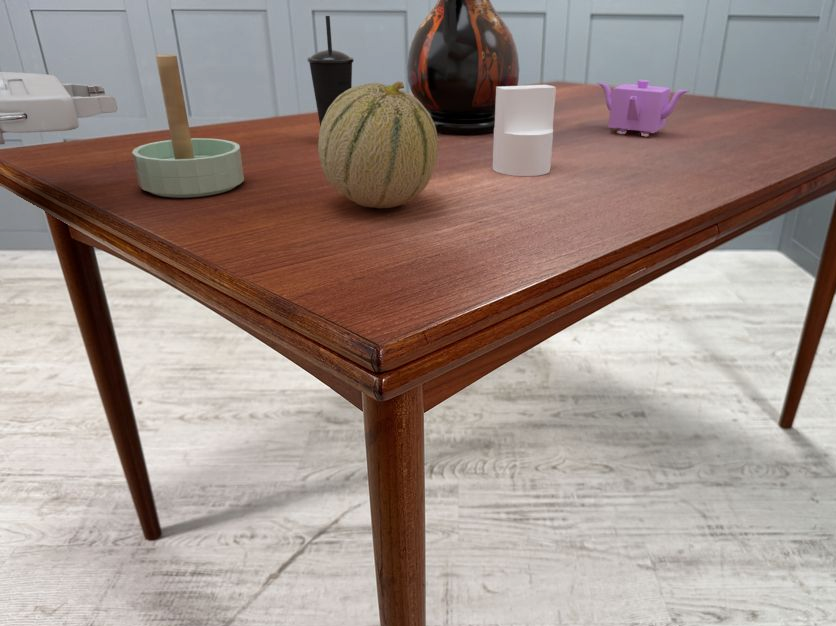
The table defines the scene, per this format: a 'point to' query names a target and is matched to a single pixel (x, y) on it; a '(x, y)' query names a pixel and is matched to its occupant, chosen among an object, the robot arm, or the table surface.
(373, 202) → the cantaloupe
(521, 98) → the base with upright slab
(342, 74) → the drinking cup
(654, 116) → the teapot
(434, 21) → the amphora vase
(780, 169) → the table surface
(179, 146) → the stirring stick
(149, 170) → the bowl
